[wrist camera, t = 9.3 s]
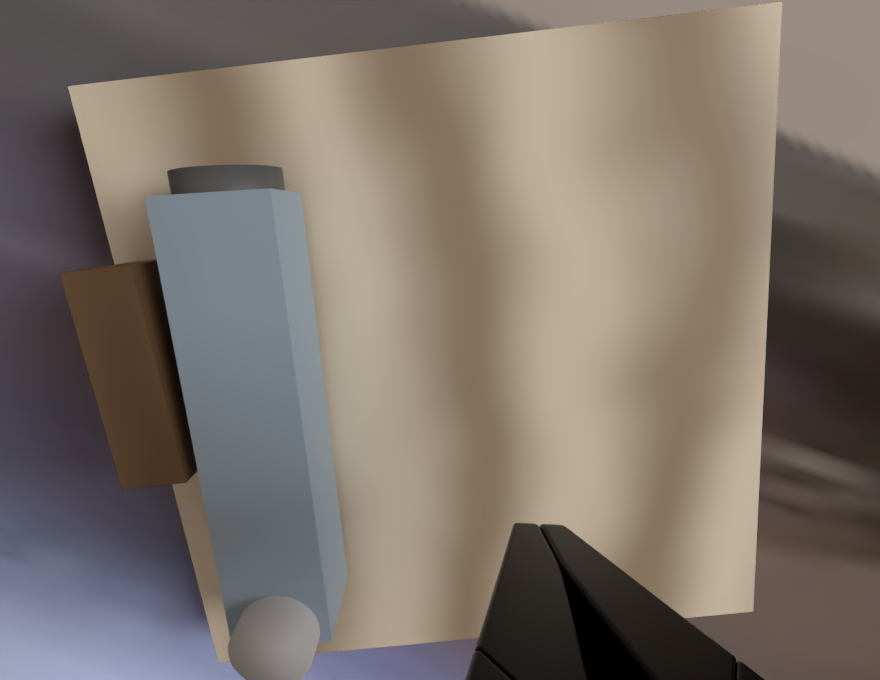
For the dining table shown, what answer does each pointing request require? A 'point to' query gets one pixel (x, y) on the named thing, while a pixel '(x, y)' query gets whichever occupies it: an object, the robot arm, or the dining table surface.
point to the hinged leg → (254, 407)
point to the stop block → (133, 370)
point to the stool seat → (505, 295)
